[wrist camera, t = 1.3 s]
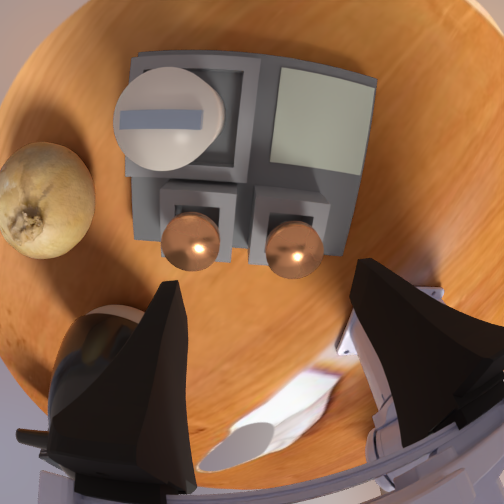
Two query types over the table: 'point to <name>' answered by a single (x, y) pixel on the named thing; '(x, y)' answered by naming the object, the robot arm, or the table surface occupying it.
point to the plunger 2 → (293, 249)
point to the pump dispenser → (83, 361)
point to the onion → (45, 200)
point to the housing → (263, 151)
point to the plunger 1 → (191, 241)
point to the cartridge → (167, 118)
